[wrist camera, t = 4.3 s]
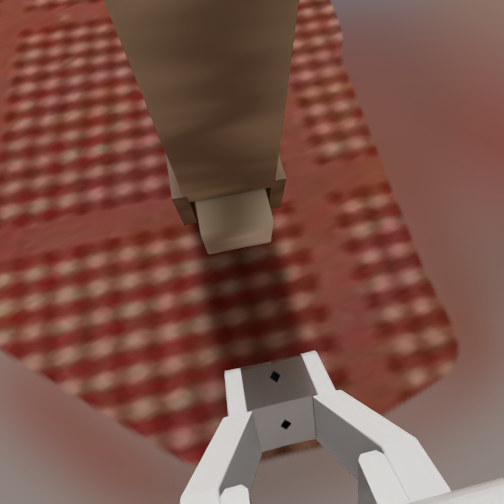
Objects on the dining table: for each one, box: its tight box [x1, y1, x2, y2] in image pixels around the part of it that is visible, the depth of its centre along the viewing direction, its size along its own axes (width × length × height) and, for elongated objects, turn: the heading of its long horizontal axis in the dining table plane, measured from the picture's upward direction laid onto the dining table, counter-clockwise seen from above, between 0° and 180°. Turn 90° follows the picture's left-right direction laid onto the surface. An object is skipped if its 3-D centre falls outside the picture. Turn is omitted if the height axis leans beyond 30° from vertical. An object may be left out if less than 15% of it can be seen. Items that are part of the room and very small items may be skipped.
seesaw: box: [195, 188, 274, 254], centre depth 22 cm, size 6×18×9 cm, turn 12°
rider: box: [104, 0, 299, 225], centre depth 14 cm, size 6×4×13 cm, turn 102°
